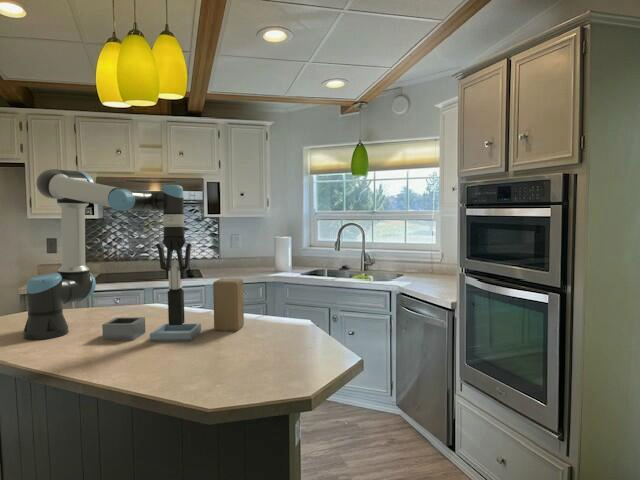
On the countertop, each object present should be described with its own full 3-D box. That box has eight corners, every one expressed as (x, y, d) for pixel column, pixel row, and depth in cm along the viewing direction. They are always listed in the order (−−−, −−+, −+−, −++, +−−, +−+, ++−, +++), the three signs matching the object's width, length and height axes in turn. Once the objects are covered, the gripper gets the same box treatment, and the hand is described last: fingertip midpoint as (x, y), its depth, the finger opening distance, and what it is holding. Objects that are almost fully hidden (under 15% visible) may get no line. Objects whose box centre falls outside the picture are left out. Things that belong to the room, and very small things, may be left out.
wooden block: (244, 325, 191) (243, 278, 190) (237, 331, 181) (236, 281, 180) (221, 325, 192) (220, 277, 191) (213, 331, 182) (212, 281, 181)
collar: (102, 340, 170) (102, 324, 170) (116, 332, 182) (116, 317, 181) (133, 340, 170) (133, 324, 170) (145, 332, 181) (145, 317, 181)
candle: (181, 325, 173) (179, 259, 171) (167, 325, 173) (165, 259, 171) (185, 322, 178) (183, 258, 176) (172, 322, 178) (170, 258, 176)
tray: (150, 341, 168) (149, 333, 168) (164, 330, 183) (163, 323, 183) (190, 341, 168) (190, 333, 168) (201, 330, 183) (201, 323, 183)
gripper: (149, 226, 169) (151, 289, 171) (192, 226, 169) (193, 289, 171) (156, 226, 177) (158, 286, 178) (197, 225, 177) (199, 285, 178)
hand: (175, 287), depth 175 cm, fingers closed on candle, 3 cm apart
